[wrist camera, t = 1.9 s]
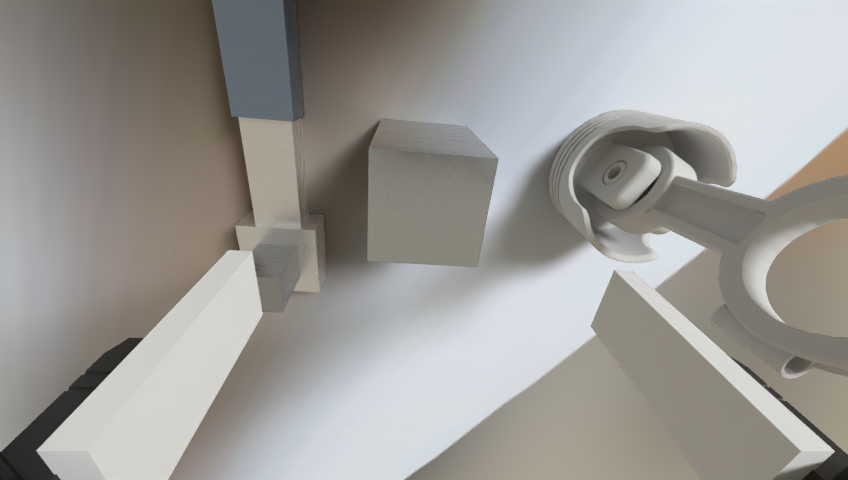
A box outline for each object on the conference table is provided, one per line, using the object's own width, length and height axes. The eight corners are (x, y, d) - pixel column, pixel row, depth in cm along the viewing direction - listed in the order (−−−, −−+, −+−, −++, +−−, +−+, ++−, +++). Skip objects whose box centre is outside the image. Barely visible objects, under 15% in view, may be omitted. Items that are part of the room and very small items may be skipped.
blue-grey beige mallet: (205, -69, 20) (104, -137, 13) (309, -56, 20) (262, -114, 14) (260, 269, 31) (221, 326, 24) (326, 272, 31) (305, 328, 25)
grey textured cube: (381, 118, 25) (368, 147, 16) (467, 126, 26) (498, 158, 17) (378, 200, 28) (367, 261, 19) (455, 205, 29) (477, 266, 20)
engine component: (524, 194, 29) (607, 243, 31) (729, 419, 11) (882, 487, 13) (616, 72, 24) (702, 140, 27) (1218, 95, 6) (1294, 293, 9)
